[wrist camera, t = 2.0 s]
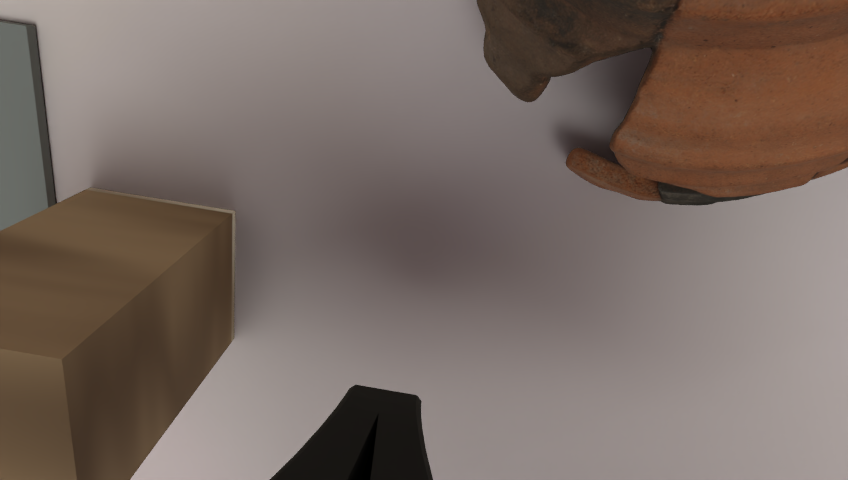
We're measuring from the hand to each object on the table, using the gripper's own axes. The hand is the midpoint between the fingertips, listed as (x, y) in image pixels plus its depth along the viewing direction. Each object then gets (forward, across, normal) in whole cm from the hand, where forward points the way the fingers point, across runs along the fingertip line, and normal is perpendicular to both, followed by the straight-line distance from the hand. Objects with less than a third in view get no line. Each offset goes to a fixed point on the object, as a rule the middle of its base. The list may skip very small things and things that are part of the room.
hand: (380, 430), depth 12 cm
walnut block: (+5, +7, 0) cm, 9 cm away
